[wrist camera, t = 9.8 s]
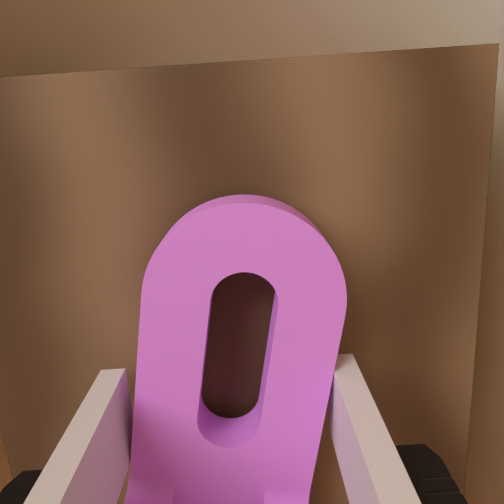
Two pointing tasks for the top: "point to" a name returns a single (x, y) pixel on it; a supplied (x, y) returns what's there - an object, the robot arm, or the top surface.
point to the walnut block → (248, 183)
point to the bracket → (194, 352)
